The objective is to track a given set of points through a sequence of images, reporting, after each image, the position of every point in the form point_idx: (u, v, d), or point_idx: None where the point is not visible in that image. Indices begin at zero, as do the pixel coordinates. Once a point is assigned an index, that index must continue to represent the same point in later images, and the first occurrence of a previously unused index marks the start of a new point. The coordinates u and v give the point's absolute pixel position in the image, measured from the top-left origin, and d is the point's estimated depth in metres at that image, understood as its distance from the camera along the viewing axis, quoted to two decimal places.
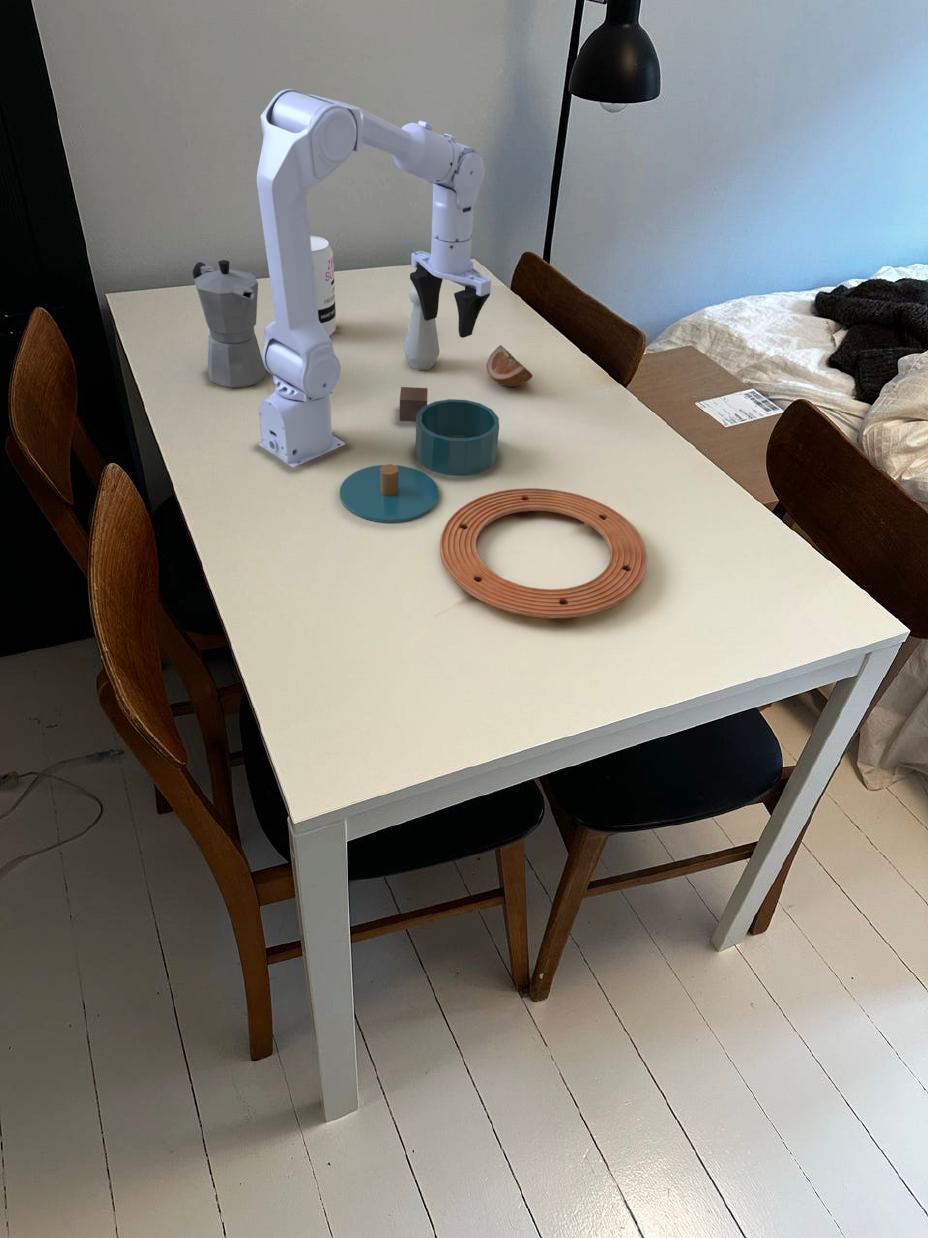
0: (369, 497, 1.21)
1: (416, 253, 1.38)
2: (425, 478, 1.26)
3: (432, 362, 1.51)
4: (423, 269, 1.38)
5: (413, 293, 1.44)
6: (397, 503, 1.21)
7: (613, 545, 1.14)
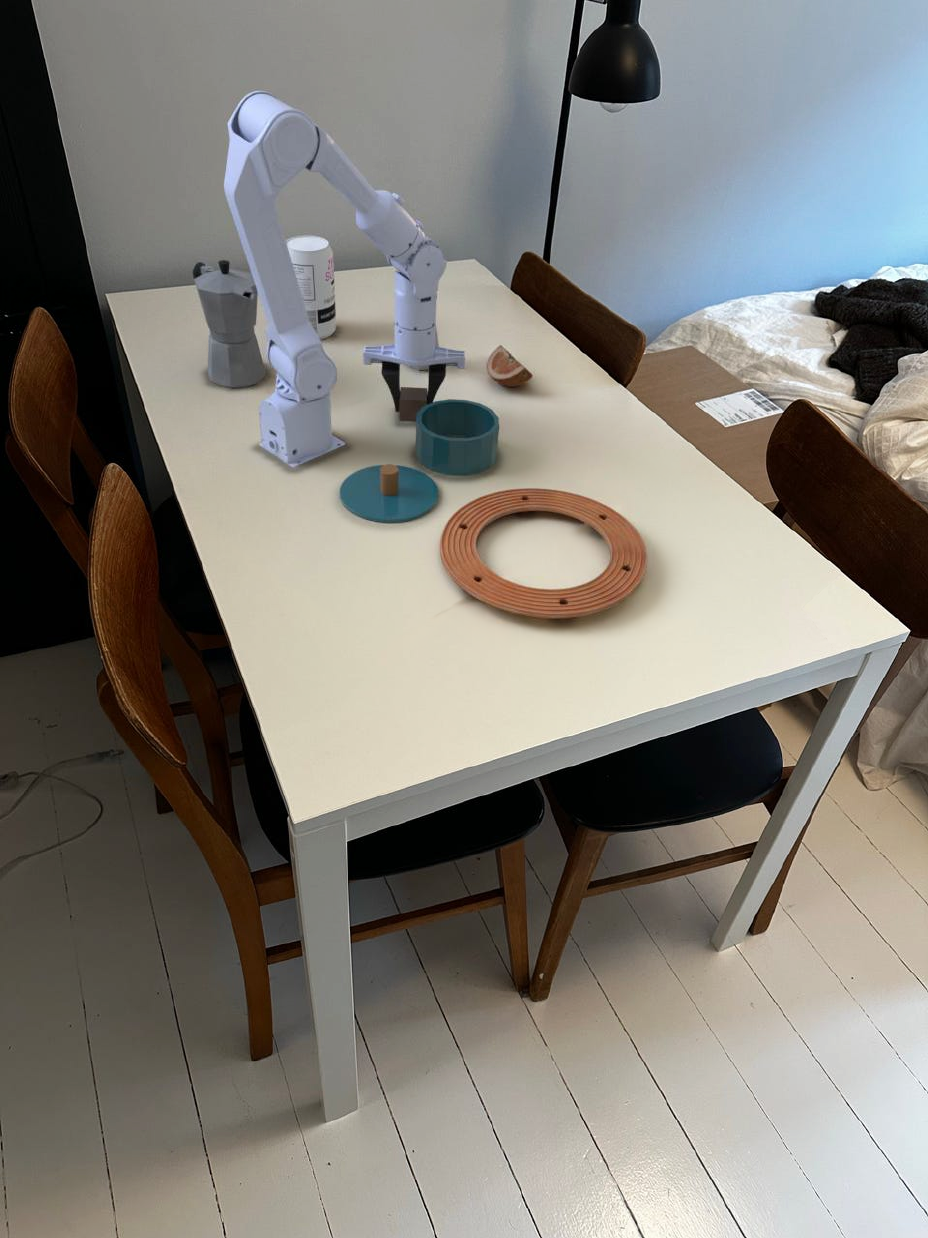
0: (369, 497, 1.21)
1: (366, 350, 1.33)
2: (425, 478, 1.26)
3: None
4: (392, 364, 1.33)
5: None
6: (397, 503, 1.21)
7: (613, 545, 1.14)
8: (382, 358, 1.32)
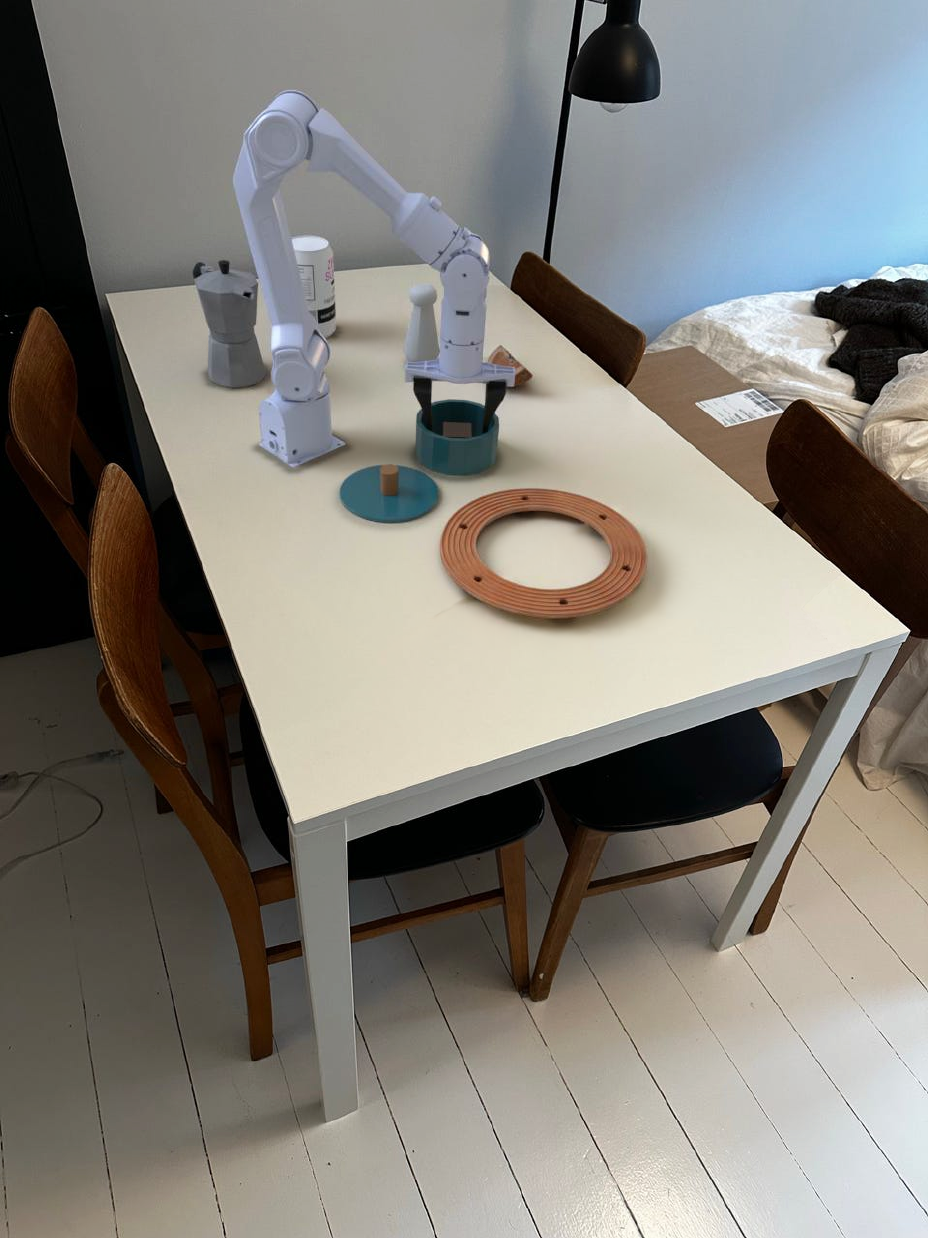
0: (369, 497, 1.21)
1: (408, 367, 1.23)
2: (425, 478, 1.26)
3: None
4: (424, 381, 1.23)
5: (413, 293, 1.44)
6: (397, 503, 1.21)
7: (613, 545, 1.14)
8: (426, 375, 1.22)
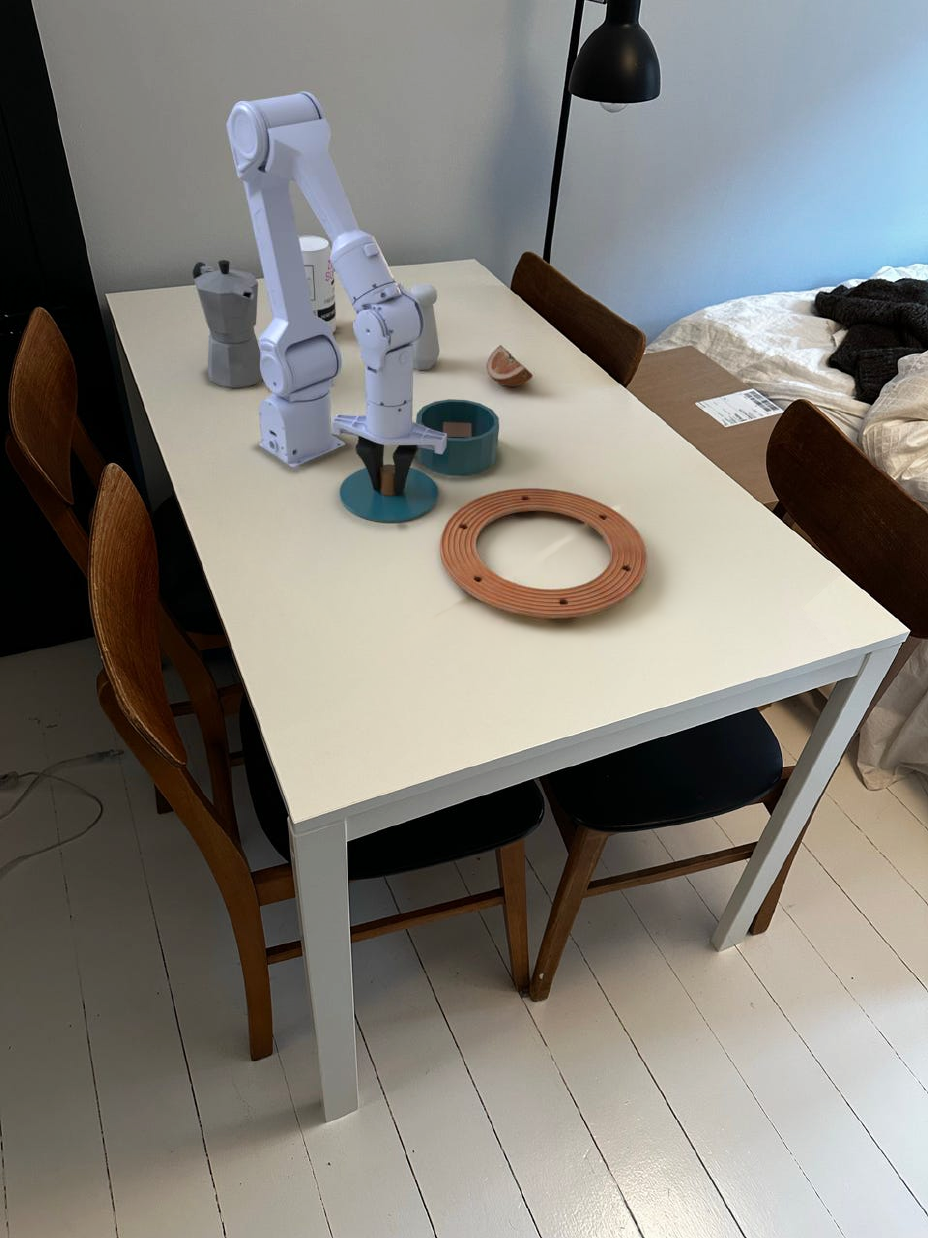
0: (369, 497, 1.21)
1: (336, 419, 1.18)
2: (425, 478, 1.26)
3: (432, 362, 1.51)
4: None
5: (413, 293, 1.44)
6: (397, 503, 1.21)
7: (613, 545, 1.14)
8: (351, 430, 1.16)
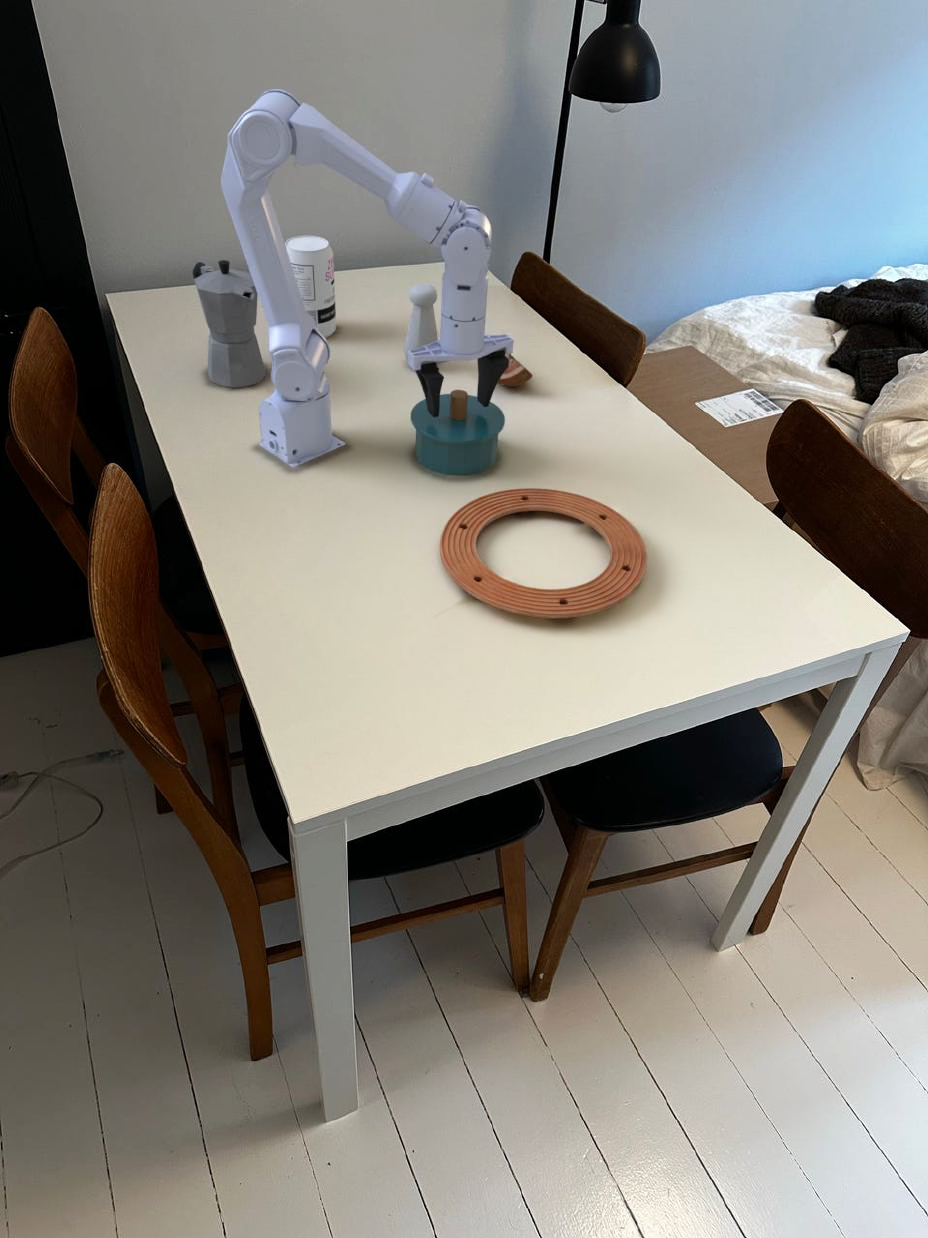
0: (452, 426, 1.26)
1: (413, 355, 1.18)
2: None
3: None
4: (431, 365, 1.20)
5: (413, 293, 1.44)
6: (478, 421, 1.27)
7: (613, 545, 1.14)
8: (435, 359, 1.19)
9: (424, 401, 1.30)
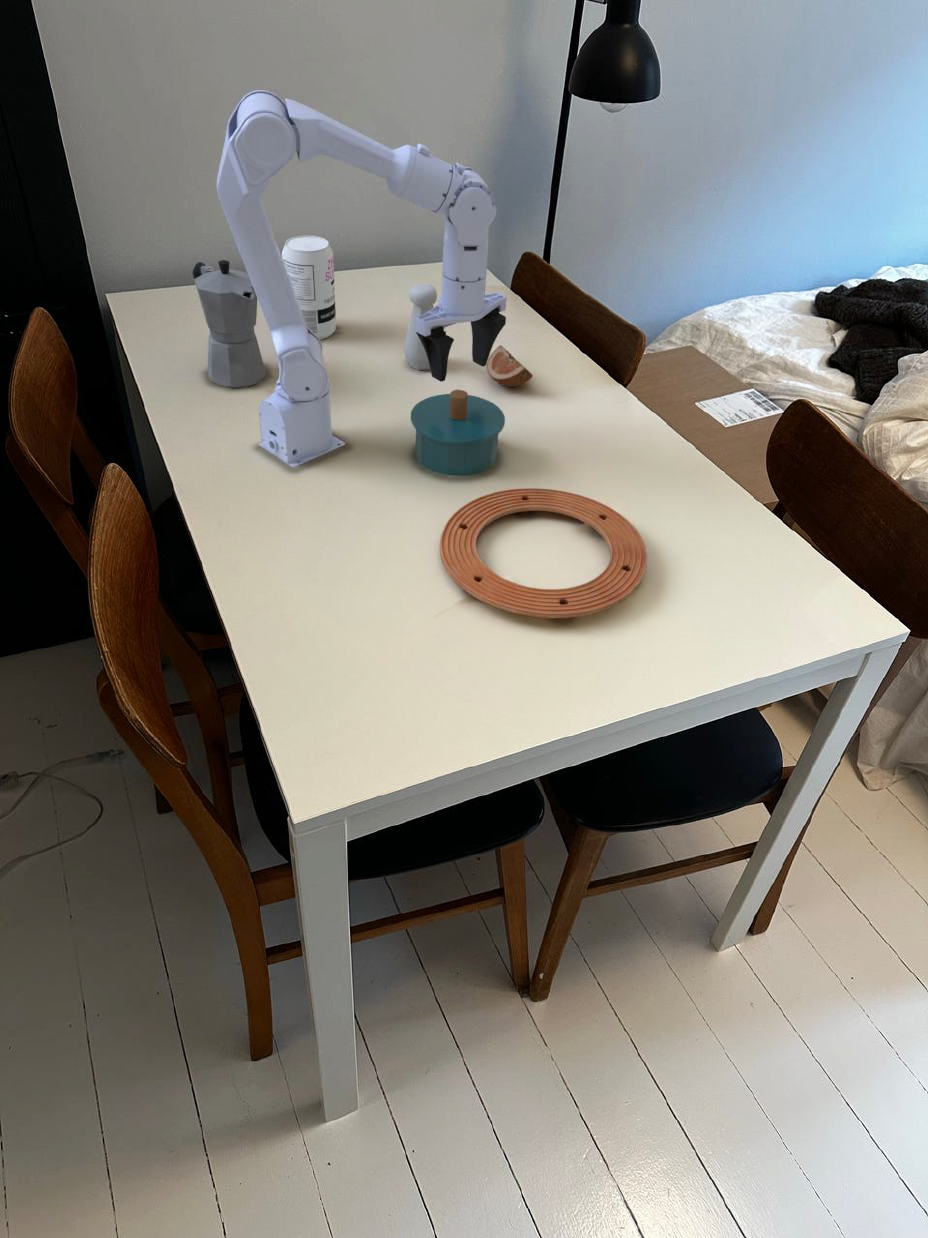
0: (452, 426, 1.26)
1: (423, 320, 1.20)
2: None
3: None
4: (439, 329, 1.22)
5: (413, 293, 1.44)
6: (478, 421, 1.27)
7: (613, 545, 1.14)
8: (444, 322, 1.21)
9: (424, 401, 1.30)
